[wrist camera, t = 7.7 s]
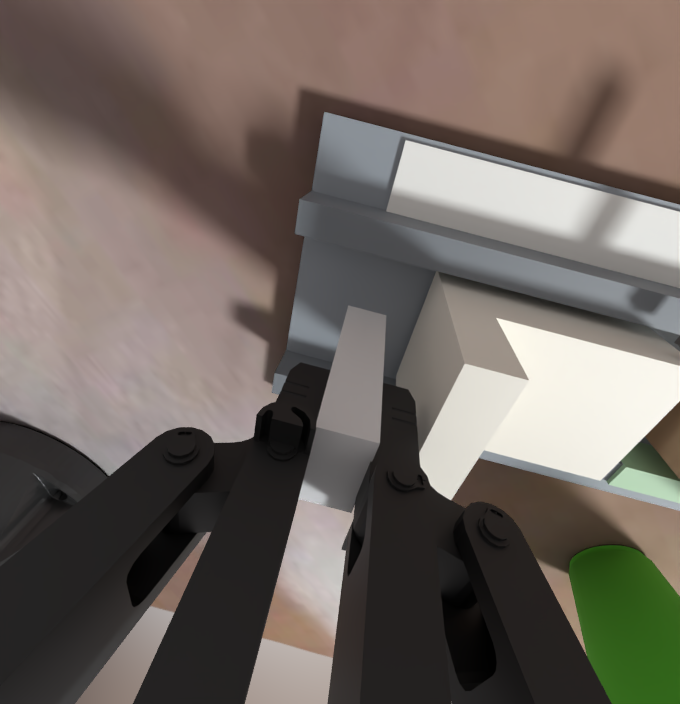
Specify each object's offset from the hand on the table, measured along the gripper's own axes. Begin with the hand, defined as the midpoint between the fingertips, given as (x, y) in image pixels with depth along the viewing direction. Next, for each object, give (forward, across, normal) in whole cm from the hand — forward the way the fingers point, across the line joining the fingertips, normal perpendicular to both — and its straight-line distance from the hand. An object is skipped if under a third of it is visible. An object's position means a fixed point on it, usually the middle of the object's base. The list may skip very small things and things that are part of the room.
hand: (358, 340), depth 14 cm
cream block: (+2, +7, +3) cm, 8 cm away
